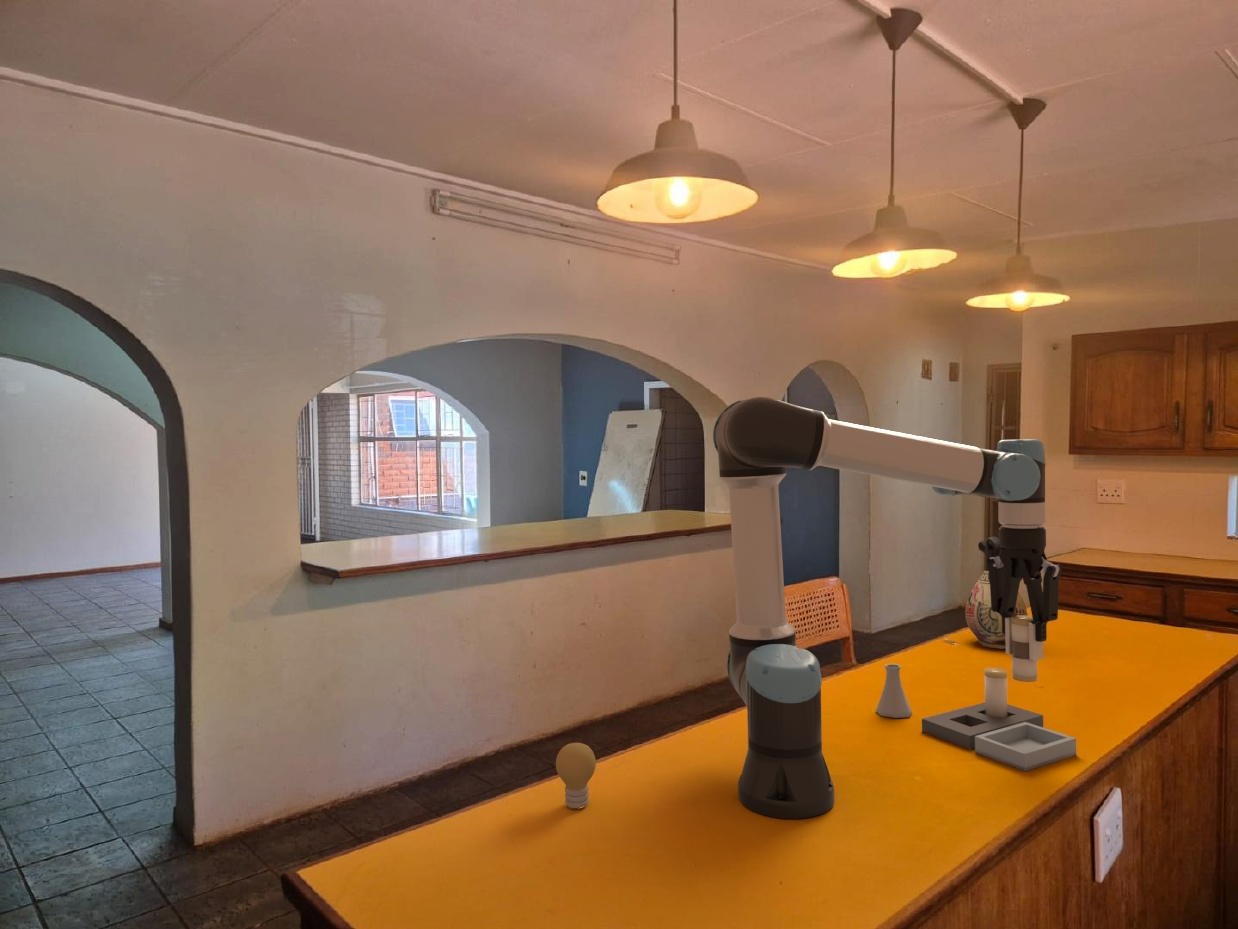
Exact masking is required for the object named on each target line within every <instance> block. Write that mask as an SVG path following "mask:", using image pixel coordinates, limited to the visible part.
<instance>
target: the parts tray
mask: <svg viewBox="0 0 1238 929" xmlns="http://www.w3.org/2000/svg"><path fill="white" fill-rule="evenodd" d="M974 753H975V754H978V755H980V756H984V757H985V758H989V759H991V760H994V761H997V762H999V763H1000V764H1004V765H1006V766H1009V767H1012V768H1015V769H1018V770H1020V771H1022V772H1024V773H1025V772H1029V771H1031V770H1035V769H1038V768H1040V767H1044V766H1047V765H1050V764H1053V763H1056V762H1059V761H1062V760H1065V759H1068V758H1071V757H1075V756H1076V755H1077V737H1073V736H1070V735H1068V734H1065V733H1061V732H1058V731H1054V730H1051V729H1048V728H1046V727H1044V726H1043V727H1039V726H1036V725H1033V724H1030V723H1027V722H1023V723H1020V724H1016V725H1013V726H1009V727H1006V728H1002V729H999V730H995V731H992V732H988V733H984V734H981V735H977V736H975V748H974Z"/></svg>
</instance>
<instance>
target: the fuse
mask: <svg viewBox="0 0 1238 929" xmlns="http://www.w3.org/2000/svg"><path fill="white" fill-rule="evenodd" d="M984 703H985V715H988V716H991V717H994V718H997V719H1002V718H1005V717H1008V716H1007V704H1008V671H1007V669H1004V668H999V667H986V668H984Z"/></svg>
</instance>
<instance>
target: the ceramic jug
mask: <svg viewBox="0 0 1238 929" xmlns="http://www.w3.org/2000/svg"><path fill="white" fill-rule="evenodd" d="M977 547H978V550H979V551H980V552H982V553H983V554H985V557H986V558H985V559H987V558H993V557H997V556H999V554H1000V552H1001V546H1000V545H999V537H996V536H990V537H988V538H986V541H983V540H980V541H979V542H978V545H977ZM1003 569H1004V570H1005V567H1004V566H1003ZM1004 576H1005V573H1004ZM1004 584H1005V580H1004ZM970 591H971V592H970V594H969V595H968V597H967V598H968V599H967V600H966V606H965V611H964V612H965V613H964V614H965V621H966V623H967V627H968V628H969V630H970V631H971V633H973V635H974V636H975V638H976V639H977V641H978V642H979V644H980V646H982V647H987V648H990V649H991V648H992V649H1000V650H1004V649H1005V650H1006V641H1005V634H1003V632H1002V617H1001V615H1000V614H999V613H997V612H993V611H992V609H991V592H990V572H989V568H988V566H987V563H985V569H984V570H983V572H982V574H981V575H980V577H978V580H977V581H976V583H975V584H974V586H973V588H972V589H971V590H970ZM1015 612H1016V613H1017V614H1016V615H1025V616H1029V615H1028V612H1027V606H1026V603H1025V601H1024V599H1023V597H1022V595H1021V593H1020V592H1019V591H1018V596H1017V602H1016V608H1015ZM1013 616H1015V615H1013Z"/></svg>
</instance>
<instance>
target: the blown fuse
mask: <svg viewBox="0 0 1238 929" xmlns="http://www.w3.org/2000/svg"><path fill="white" fill-rule="evenodd" d="M1032 620H1033V617H1032V615H1028V616H1025V615H1015V616H1012V617H1011V630H1012V654H1011V672H1012V673H1011V678H1012V679H1013V680H1014V681H1019V682H1023V683H1034V682H1037V681H1038V660H1029V623H1031V621H1032Z"/></svg>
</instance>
